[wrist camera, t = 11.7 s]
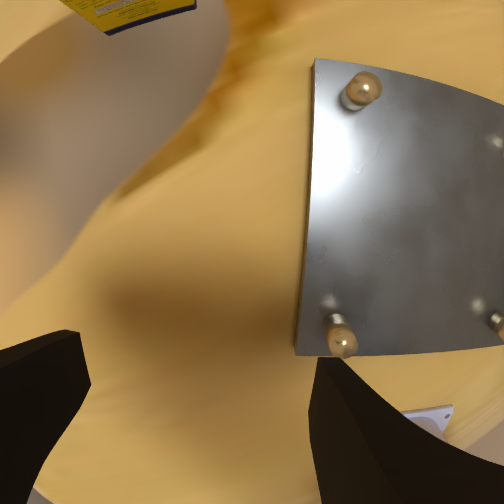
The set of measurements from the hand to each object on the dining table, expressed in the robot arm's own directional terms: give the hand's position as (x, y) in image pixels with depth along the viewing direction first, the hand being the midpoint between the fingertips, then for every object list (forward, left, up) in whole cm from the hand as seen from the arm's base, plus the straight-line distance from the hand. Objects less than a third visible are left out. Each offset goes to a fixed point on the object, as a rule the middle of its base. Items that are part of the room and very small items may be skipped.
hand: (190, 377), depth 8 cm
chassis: (+4, -12, -9) cm, 16 cm away
